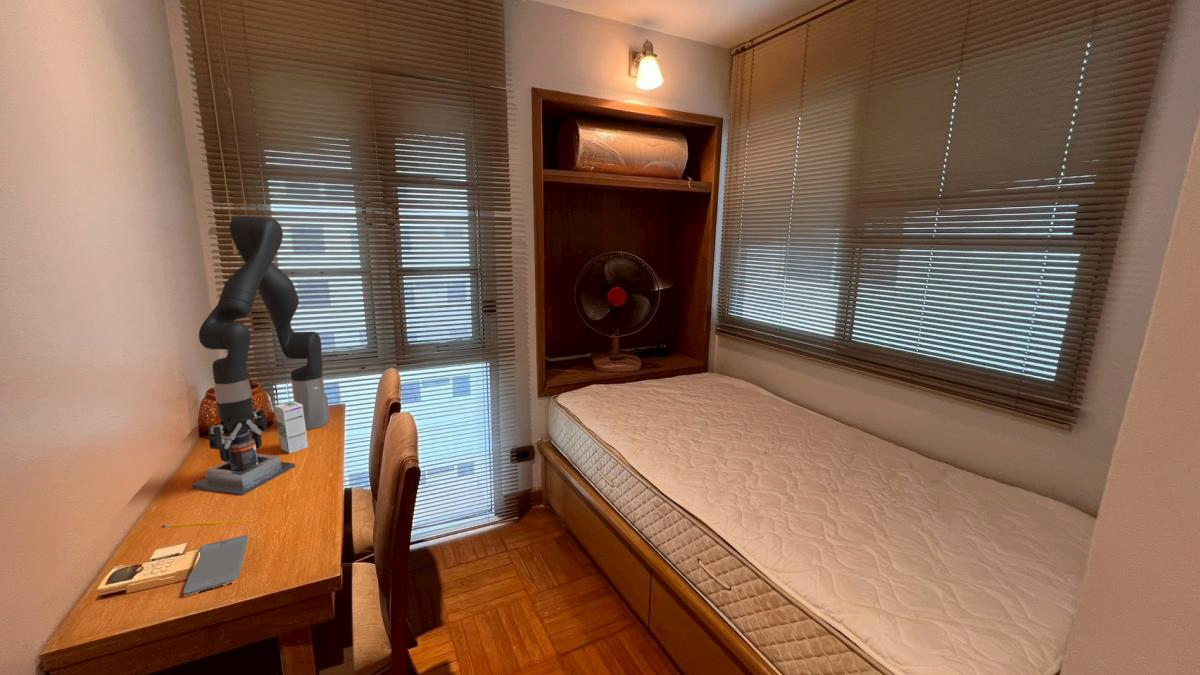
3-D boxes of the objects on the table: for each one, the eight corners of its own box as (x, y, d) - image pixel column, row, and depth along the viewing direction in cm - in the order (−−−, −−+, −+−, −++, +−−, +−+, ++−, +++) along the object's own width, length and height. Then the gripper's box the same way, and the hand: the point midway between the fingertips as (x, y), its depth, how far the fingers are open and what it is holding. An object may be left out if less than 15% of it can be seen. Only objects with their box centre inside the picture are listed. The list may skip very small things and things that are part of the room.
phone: (182, 601, 84) (180, 594, 84) (200, 551, 98) (199, 545, 97) (238, 584, 88) (237, 578, 88) (249, 539, 102) (248, 534, 101)
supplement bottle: (264, 468, 130) (259, 430, 128) (246, 479, 124) (241, 439, 122) (245, 467, 131) (239, 429, 129) (226, 477, 125) (220, 437, 123)
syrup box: (309, 447, 146) (303, 403, 144) (288, 454, 141) (282, 409, 139) (299, 443, 149) (294, 400, 147) (279, 450, 144) (273, 405, 142)
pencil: (164, 527, 105) (164, 524, 105) (252, 522, 108) (252, 519, 108) (161, 529, 105) (161, 526, 104) (250, 524, 107) (250, 521, 107)
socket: (248, 461, 137) (246, 448, 136) (295, 466, 134) (293, 453, 133) (191, 488, 122) (189, 473, 121) (242, 495, 118) (240, 480, 118)
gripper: (247, 388, 131) (254, 442, 134) (194, 404, 117) (204, 464, 120) (269, 390, 129) (277, 444, 133) (219, 407, 116) (228, 467, 119)
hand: (242, 454), depth 126 cm, fingers open, 8 cm apart
